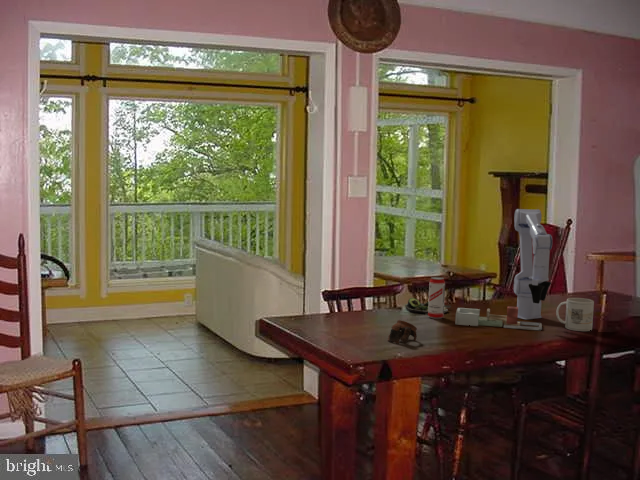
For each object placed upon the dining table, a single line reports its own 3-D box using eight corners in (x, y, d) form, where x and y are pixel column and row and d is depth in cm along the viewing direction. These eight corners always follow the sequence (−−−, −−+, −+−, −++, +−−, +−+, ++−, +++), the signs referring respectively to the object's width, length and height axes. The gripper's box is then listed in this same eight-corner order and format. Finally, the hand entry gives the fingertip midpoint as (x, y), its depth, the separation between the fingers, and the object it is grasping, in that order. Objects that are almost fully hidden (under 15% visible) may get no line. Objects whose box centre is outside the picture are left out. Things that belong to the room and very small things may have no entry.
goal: (479, 320, 303) (479, 309, 302) (477, 326, 292) (478, 314, 292) (457, 318, 305) (457, 307, 305) (455, 324, 294) (455, 312, 294)
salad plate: (445, 306, 333) (445, 296, 332) (457, 315, 315) (458, 303, 315) (401, 306, 330) (401, 296, 330) (411, 315, 312) (412, 303, 312)
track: (541, 325, 296) (541, 320, 296) (541, 330, 287) (542, 325, 287) (477, 320, 302) (478, 315, 302) (476, 325, 293) (476, 320, 293)
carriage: (519, 324, 297) (520, 306, 296) (519, 327, 291) (520, 309, 290) (486, 321, 300) (487, 304, 299) (486, 324, 294) (487, 307, 293)
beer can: (442, 319, 303) (444, 279, 301) (426, 318, 304) (428, 278, 302) (444, 316, 309) (446, 277, 307) (429, 315, 310) (430, 276, 308)
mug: (577, 332, 286) (579, 303, 285) (553, 325, 296) (555, 297, 295) (597, 330, 291) (599, 301, 290) (573, 323, 301) (575, 296, 300)
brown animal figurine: (382, 340, 267) (391, 318, 269) (405, 352, 269) (414, 330, 271) (393, 339, 256) (403, 316, 258) (418, 351, 257) (427, 329, 259)
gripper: (535, 263, 299) (533, 297, 300) (524, 267, 286) (522, 303, 288) (554, 265, 295) (552, 299, 297) (543, 269, 283) (541, 305, 284)
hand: (538, 301), depth 292 cm, fingers open, 7 cm apart
